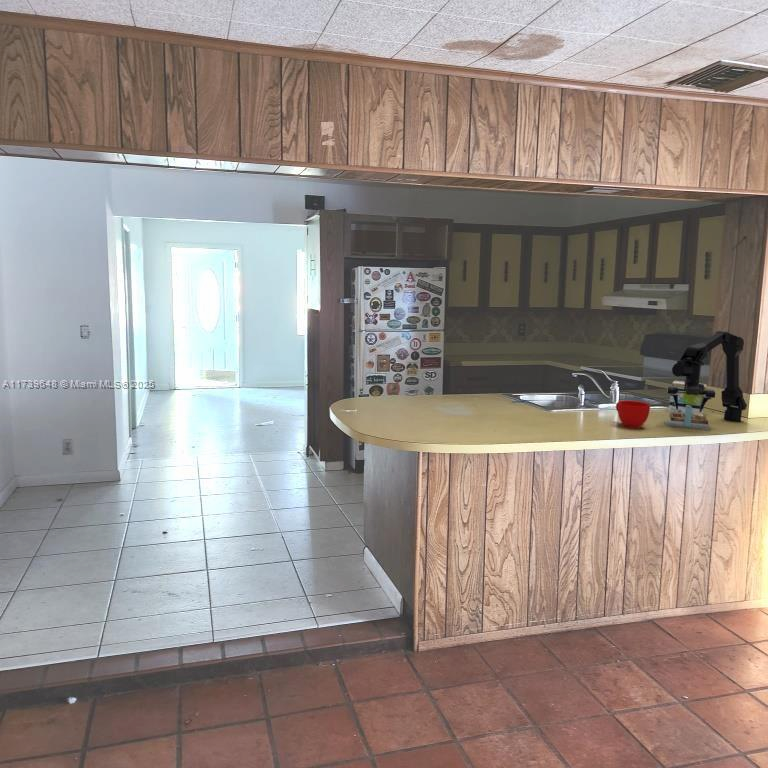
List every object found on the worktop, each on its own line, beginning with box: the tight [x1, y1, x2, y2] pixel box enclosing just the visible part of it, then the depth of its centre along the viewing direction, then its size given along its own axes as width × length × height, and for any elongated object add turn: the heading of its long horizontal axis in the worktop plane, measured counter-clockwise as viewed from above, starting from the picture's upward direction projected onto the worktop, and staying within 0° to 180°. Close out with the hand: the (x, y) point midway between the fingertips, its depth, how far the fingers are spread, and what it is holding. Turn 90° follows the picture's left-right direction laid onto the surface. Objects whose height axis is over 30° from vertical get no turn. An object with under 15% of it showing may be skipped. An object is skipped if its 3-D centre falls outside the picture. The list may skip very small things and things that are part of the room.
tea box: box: [668, 380, 708, 415], centre depth 323 cm, size 15×10×15 cm
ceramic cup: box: [615, 400, 651, 429], centre depth 290 cm, size 13×17×10 cm
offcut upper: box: [694, 413, 705, 419], centre depth 303 cm, size 4×6×2 cm, turn 160°
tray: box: [669, 412, 709, 425], centre depth 304 cm, size 15×12×2 cm
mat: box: [663, 420, 712, 432], centre depth 293 cm, size 18×10×1 cm, turn 70°
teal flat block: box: [684, 405, 693, 427], centre depth 292 cm, size 2×7×8 cm, turn 160°
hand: (688, 411), depth 292 cm, fingers open, 9 cm apart
